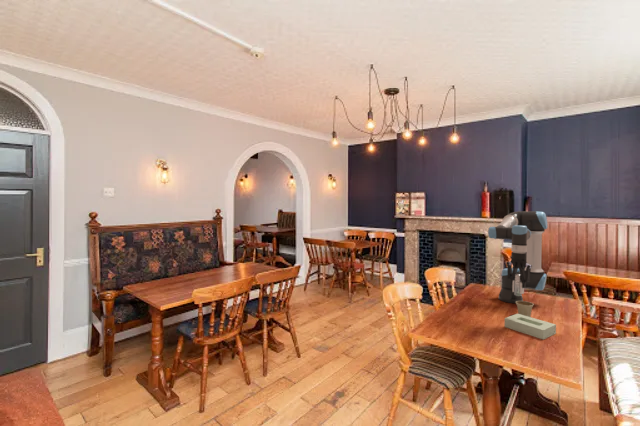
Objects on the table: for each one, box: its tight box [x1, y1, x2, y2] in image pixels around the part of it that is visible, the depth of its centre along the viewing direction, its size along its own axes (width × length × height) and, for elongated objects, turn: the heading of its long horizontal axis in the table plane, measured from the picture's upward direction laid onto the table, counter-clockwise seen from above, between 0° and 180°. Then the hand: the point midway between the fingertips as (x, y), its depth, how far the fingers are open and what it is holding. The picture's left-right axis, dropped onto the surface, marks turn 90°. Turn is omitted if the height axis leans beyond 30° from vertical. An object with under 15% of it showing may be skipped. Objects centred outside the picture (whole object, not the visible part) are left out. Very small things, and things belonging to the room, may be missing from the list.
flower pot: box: [515, 300, 535, 317], centre depth 198 cm, size 9×9×9 cm
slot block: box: [504, 313, 557, 340], centre depth 178 cm, size 14×20×5 cm
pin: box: [514, 274, 523, 297], centre depth 184 cm, size 4×4×12 cm
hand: (518, 292), depth 184 cm, fingers closed on pin, 3 cm apart
